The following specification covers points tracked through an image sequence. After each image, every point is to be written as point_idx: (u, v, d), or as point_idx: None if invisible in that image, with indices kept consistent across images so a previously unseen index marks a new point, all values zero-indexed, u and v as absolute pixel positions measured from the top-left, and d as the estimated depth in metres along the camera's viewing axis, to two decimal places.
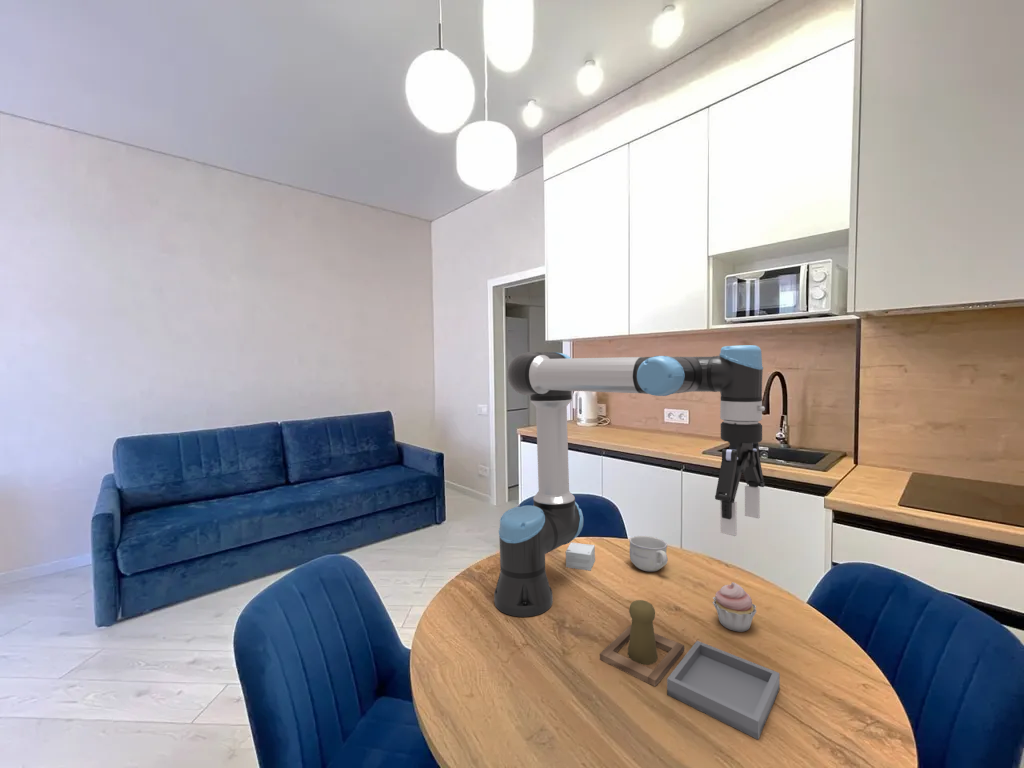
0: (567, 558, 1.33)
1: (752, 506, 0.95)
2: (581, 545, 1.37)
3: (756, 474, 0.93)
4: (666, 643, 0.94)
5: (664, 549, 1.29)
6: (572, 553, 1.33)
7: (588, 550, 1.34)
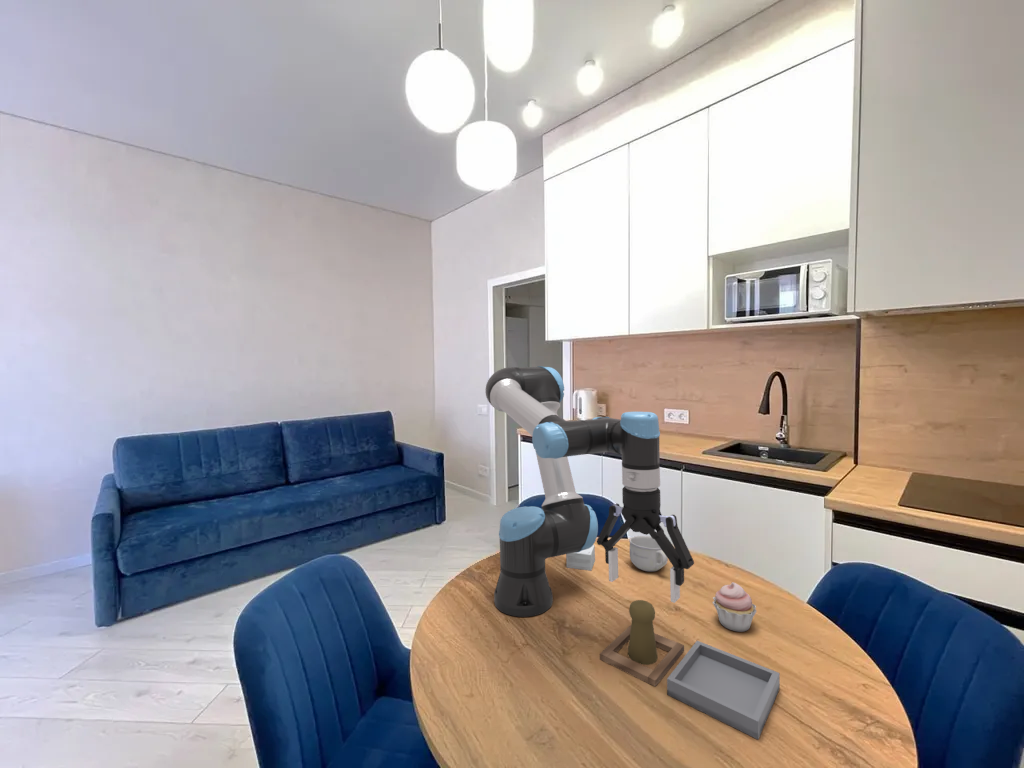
0: (567, 558, 1.33)
1: None
2: None
3: (666, 551, 0.86)
4: (666, 643, 0.94)
5: None
6: (573, 553, 1.33)
7: (589, 550, 1.34)
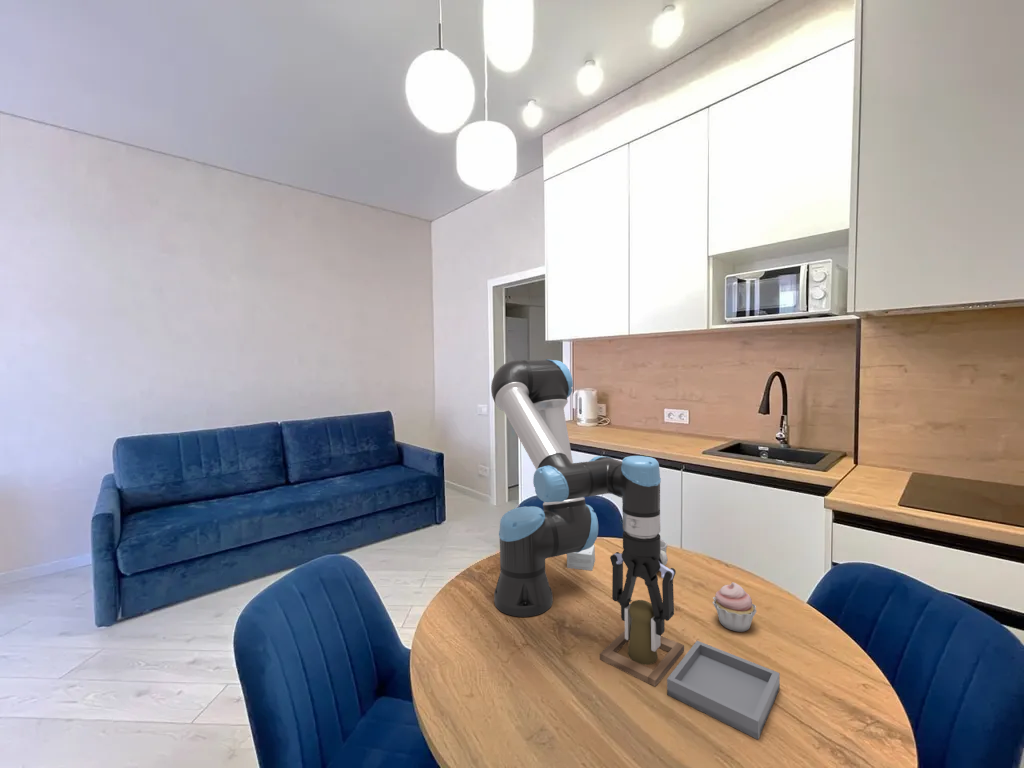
0: (568, 559, 1.33)
1: None
2: None
3: (653, 601, 0.89)
4: (666, 643, 0.94)
5: (664, 549, 1.29)
6: (573, 553, 1.32)
7: (589, 550, 1.34)
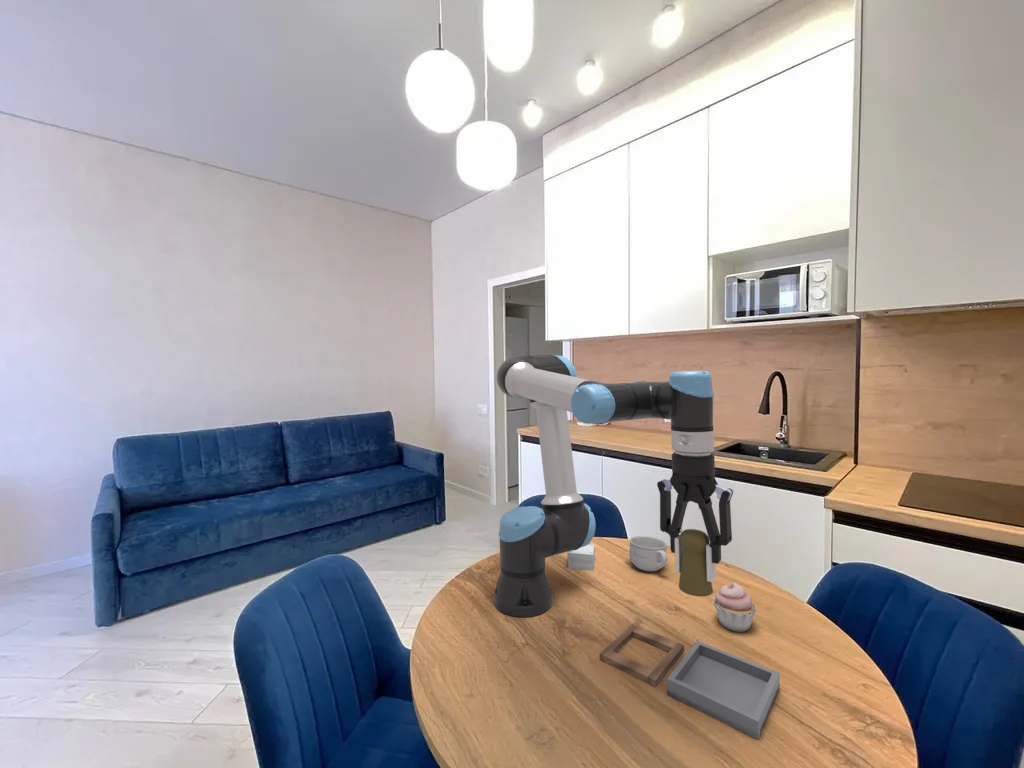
0: (569, 559, 1.33)
1: None
2: None
3: (709, 526, 0.81)
4: (666, 643, 0.94)
5: (664, 549, 1.29)
6: (574, 554, 1.32)
7: (590, 550, 1.34)
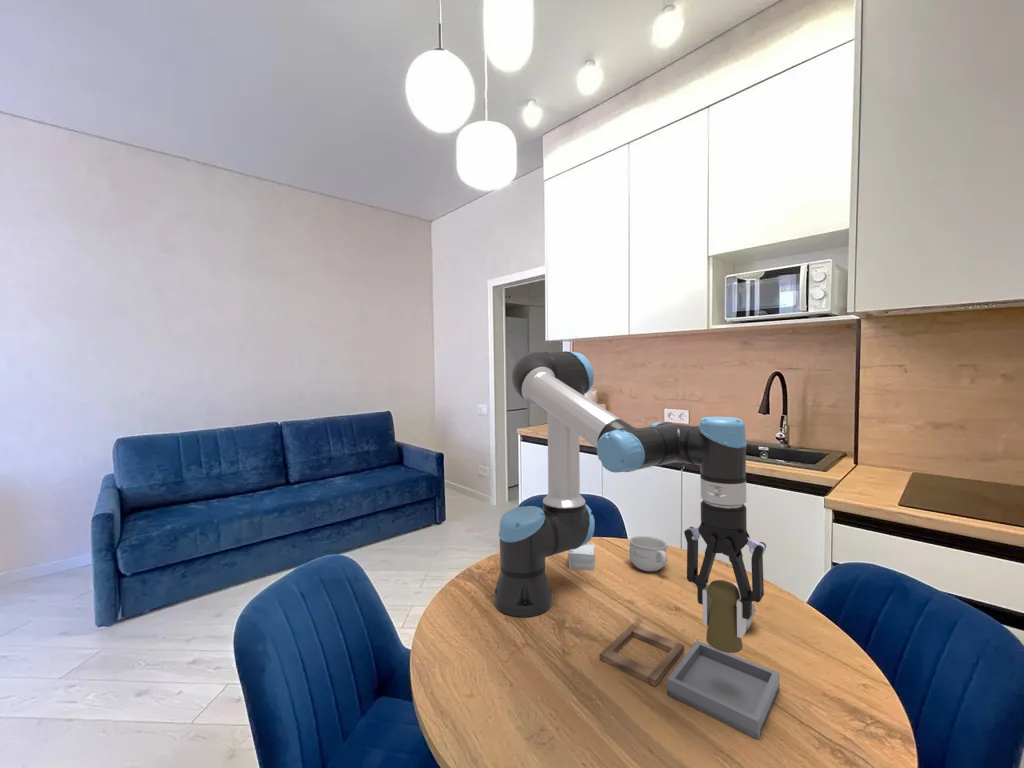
0: (570, 559, 1.32)
1: None
2: None
3: (740, 580, 0.78)
4: (666, 643, 0.94)
5: (664, 549, 1.29)
6: (575, 554, 1.32)
7: (590, 550, 1.34)
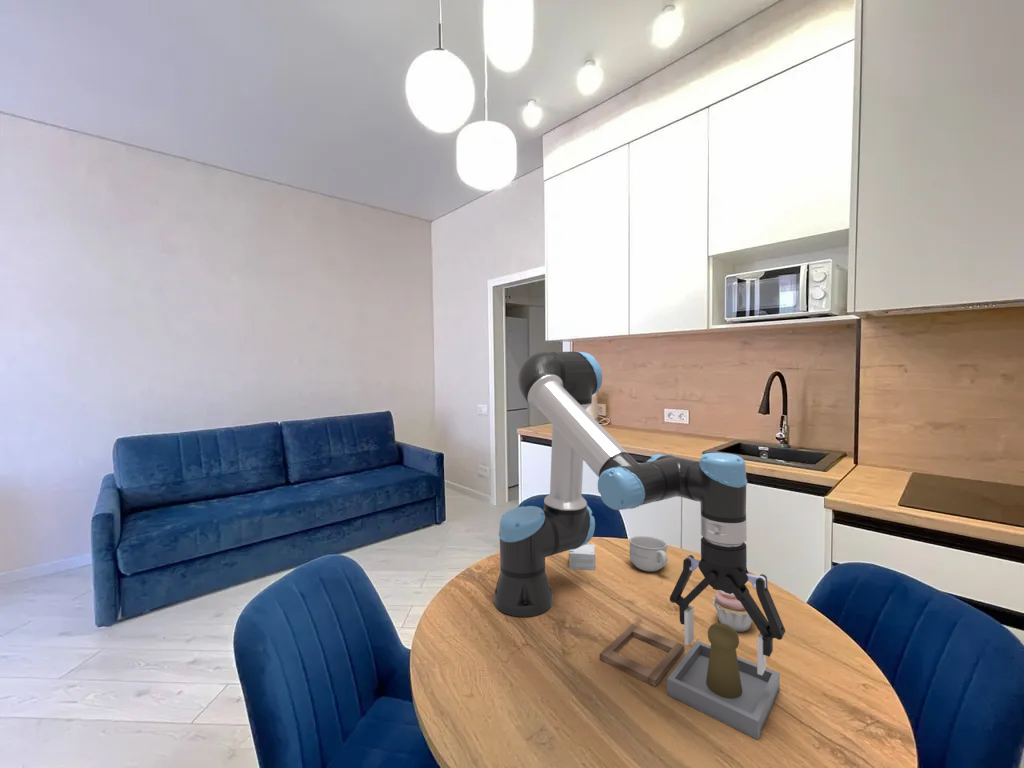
0: (571, 559, 1.32)
1: None
2: None
3: (754, 617, 0.76)
4: (666, 643, 0.94)
5: (664, 549, 1.29)
6: (576, 554, 1.32)
7: (591, 550, 1.34)
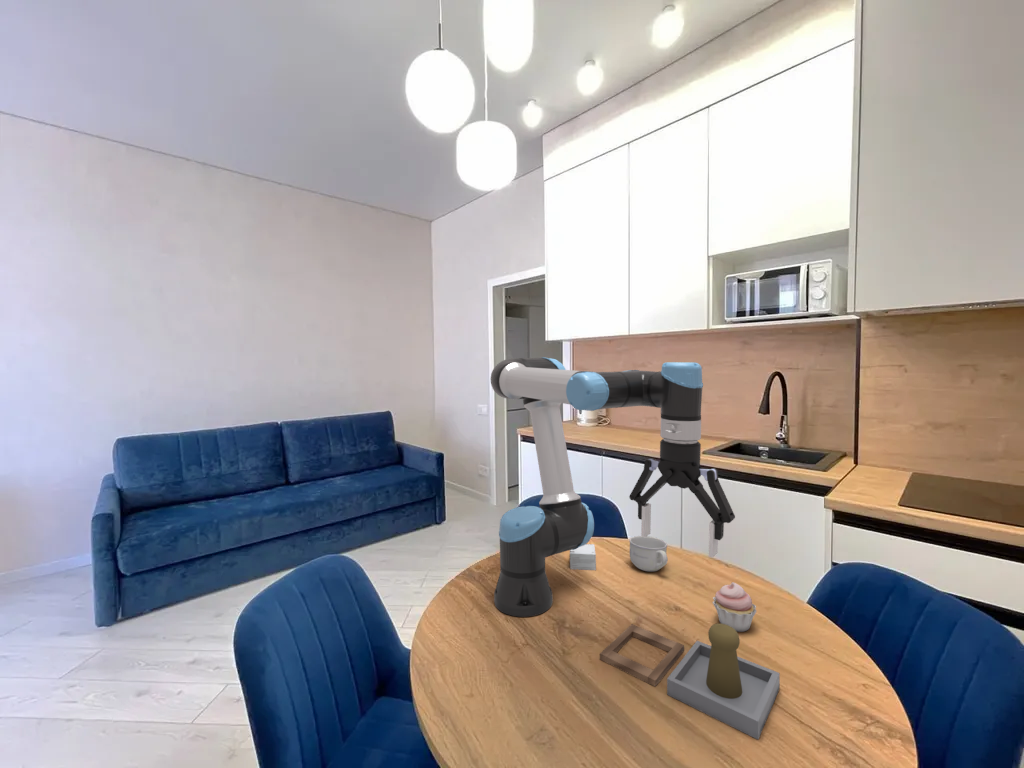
0: (571, 560, 1.32)
1: None
2: None
3: (706, 505, 0.83)
4: (666, 643, 0.94)
5: (664, 549, 1.29)
6: (577, 554, 1.32)
7: (591, 550, 1.34)
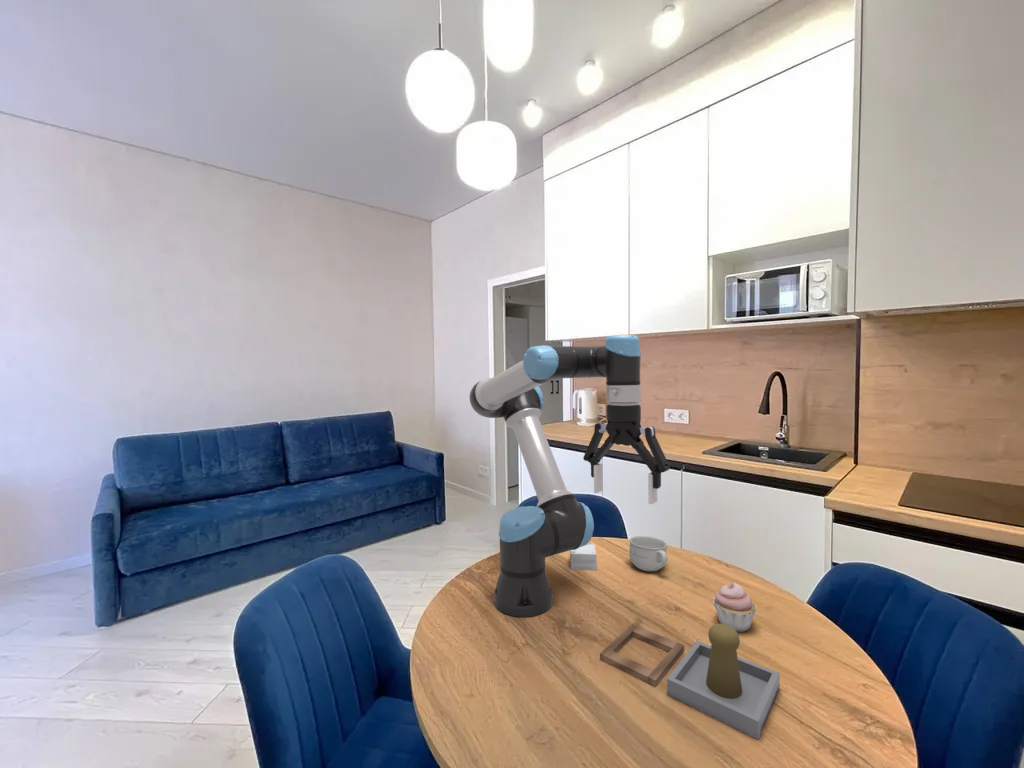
0: (572, 560, 1.32)
1: None
2: None
3: (645, 458, 0.95)
4: (666, 643, 0.94)
5: (664, 549, 1.29)
6: (578, 554, 1.32)
7: (592, 550, 1.34)
